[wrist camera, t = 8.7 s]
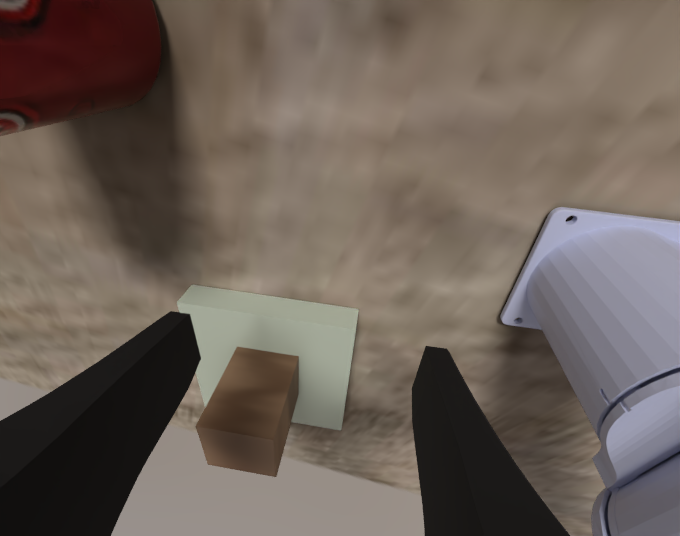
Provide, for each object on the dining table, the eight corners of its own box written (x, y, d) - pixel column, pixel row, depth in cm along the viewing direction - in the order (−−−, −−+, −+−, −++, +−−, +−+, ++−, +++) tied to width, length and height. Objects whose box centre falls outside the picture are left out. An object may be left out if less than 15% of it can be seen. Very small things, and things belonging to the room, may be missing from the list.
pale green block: (358, 309, 23) (355, 329, 21) (344, 409, 29) (341, 430, 28) (191, 284, 23) (176, 302, 22) (215, 387, 30) (205, 407, 29)
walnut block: (298, 356, 23) (273, 440, 18) (298, 394, 26) (276, 477, 21) (237, 346, 24) (195, 426, 19) (242, 385, 26) (207, 464, 21)
